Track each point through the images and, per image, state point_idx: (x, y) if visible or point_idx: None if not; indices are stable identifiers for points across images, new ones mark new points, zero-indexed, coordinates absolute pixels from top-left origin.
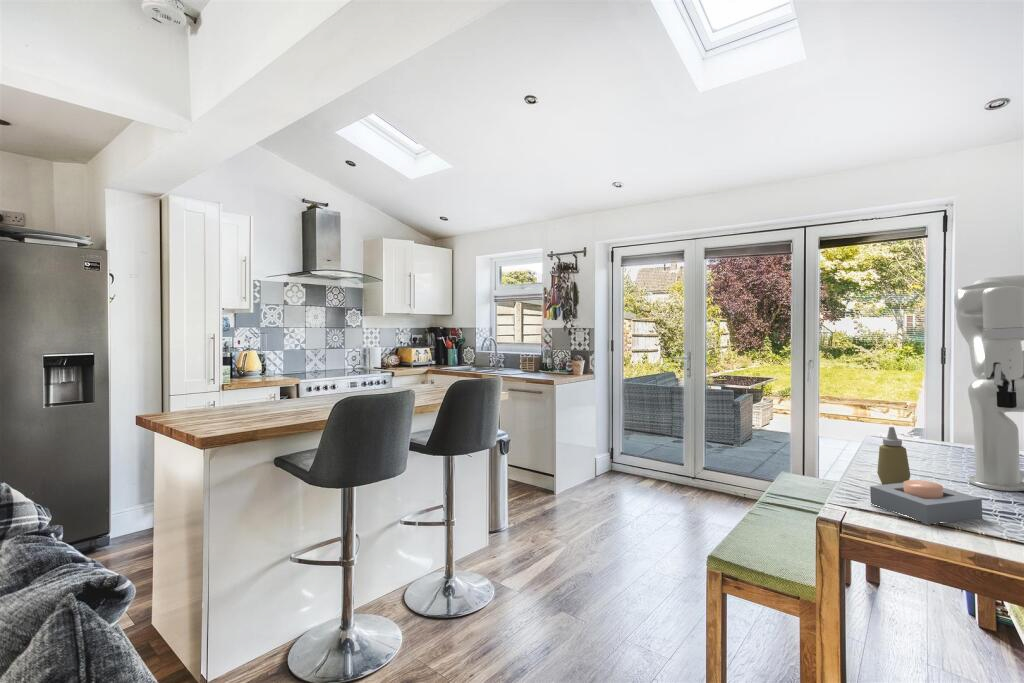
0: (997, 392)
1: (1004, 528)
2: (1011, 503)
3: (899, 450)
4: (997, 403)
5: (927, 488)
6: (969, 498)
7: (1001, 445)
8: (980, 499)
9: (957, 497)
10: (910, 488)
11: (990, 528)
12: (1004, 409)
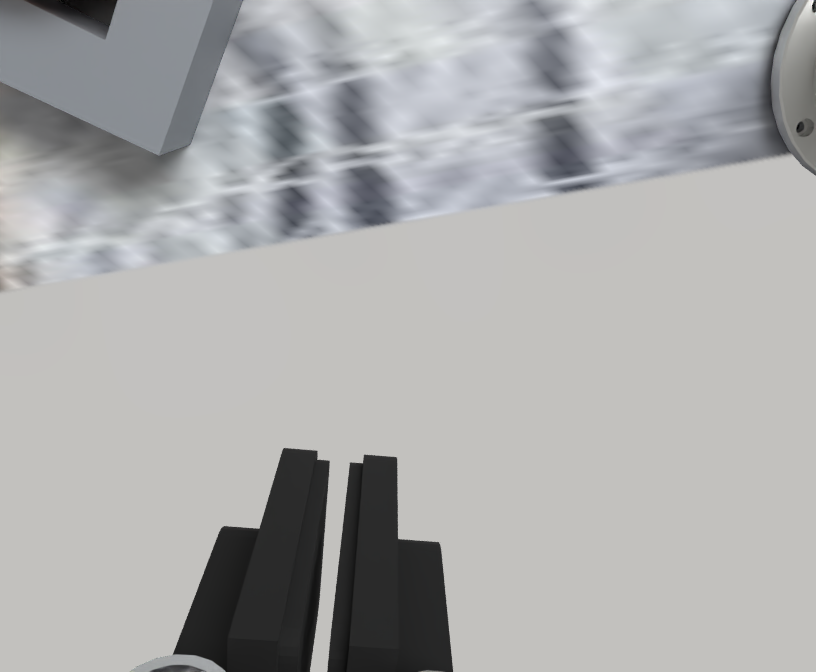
0: (234, 633)
1: (123, 235)
2: (550, 181)
3: None
4: (277, 476)
5: None
6: (110, 110)
7: None
8: (151, 151)
9: (78, 58)
10: None
11: (75, 198)
12: None
